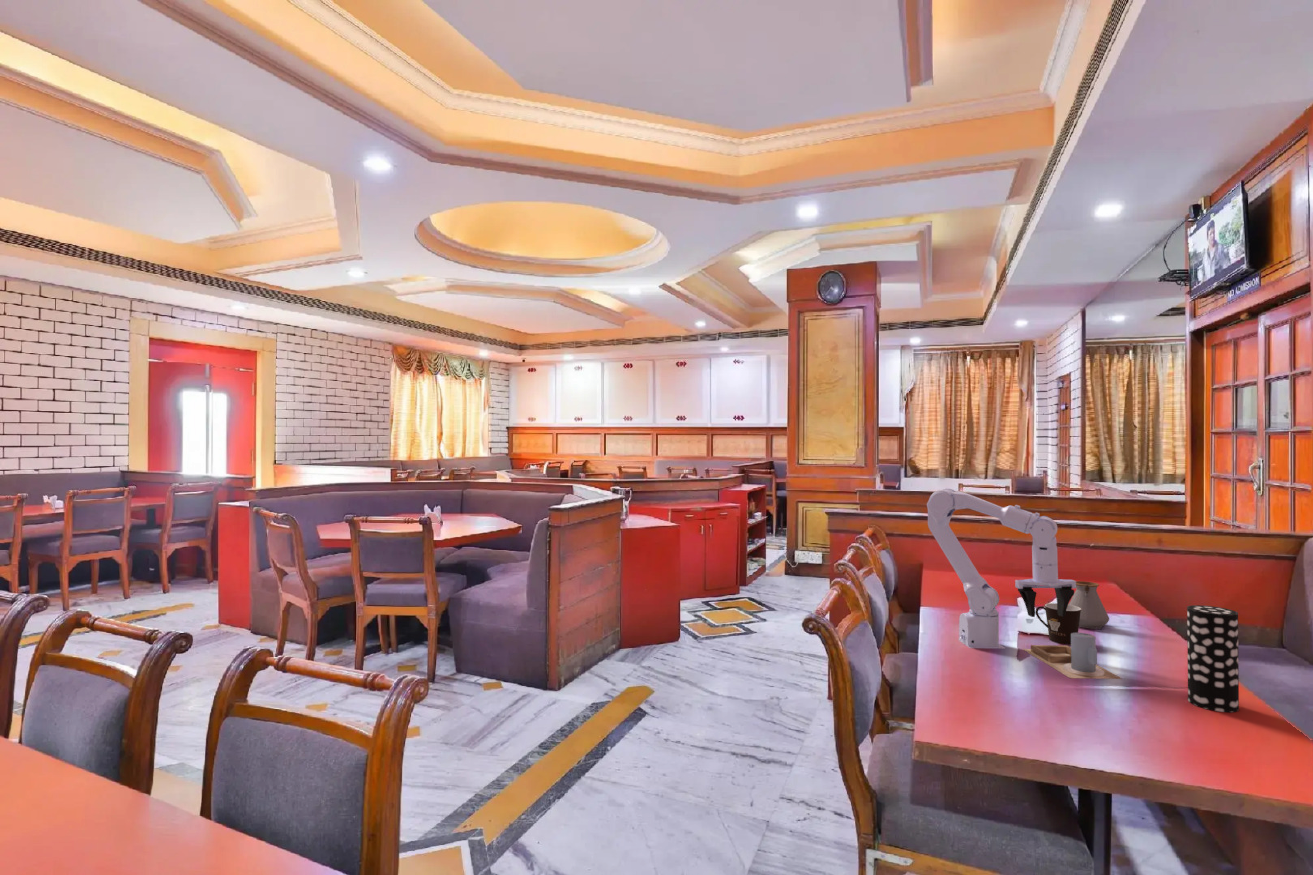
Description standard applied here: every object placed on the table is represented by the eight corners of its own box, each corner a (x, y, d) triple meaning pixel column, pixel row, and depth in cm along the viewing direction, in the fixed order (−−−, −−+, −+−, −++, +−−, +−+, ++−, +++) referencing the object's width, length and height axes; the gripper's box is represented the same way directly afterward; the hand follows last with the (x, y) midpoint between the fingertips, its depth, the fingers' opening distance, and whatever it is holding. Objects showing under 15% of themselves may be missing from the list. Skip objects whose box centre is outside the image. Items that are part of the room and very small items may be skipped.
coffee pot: (1064, 618, 211) (1064, 571, 211) (1108, 623, 205) (1108, 574, 205) (1063, 634, 193) (1063, 583, 193) (1111, 641, 187) (1111, 587, 187)
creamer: (1066, 665, 163) (1066, 632, 163) (1087, 665, 163) (1087, 632, 163) (1084, 675, 156) (1083, 641, 156) (1105, 675, 156) (1105, 641, 156)
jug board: (1069, 680, 156) (1069, 670, 156) (1022, 651, 178) (1022, 642, 178) (1122, 681, 156) (1122, 671, 156) (1068, 651, 177) (1068, 643, 178)
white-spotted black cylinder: (1230, 700, 144) (1230, 607, 144) (1245, 715, 136) (1244, 616, 136) (1182, 694, 147) (1182, 603, 147) (1194, 708, 140) (1193, 612, 140)
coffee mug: (1088, 647, 181) (1088, 610, 181) (1056, 647, 181) (1055, 610, 181) (1063, 635, 193) (1062, 600, 193) (1032, 635, 193) (1032, 600, 193)
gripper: (1024, 566, 171) (1025, 619, 170) (1082, 565, 170) (1084, 619, 170) (1010, 561, 178) (1012, 613, 178) (1066, 561, 177) (1068, 612, 177)
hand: (1046, 615), depth 174 cm, fingers open, 7 cm apart
